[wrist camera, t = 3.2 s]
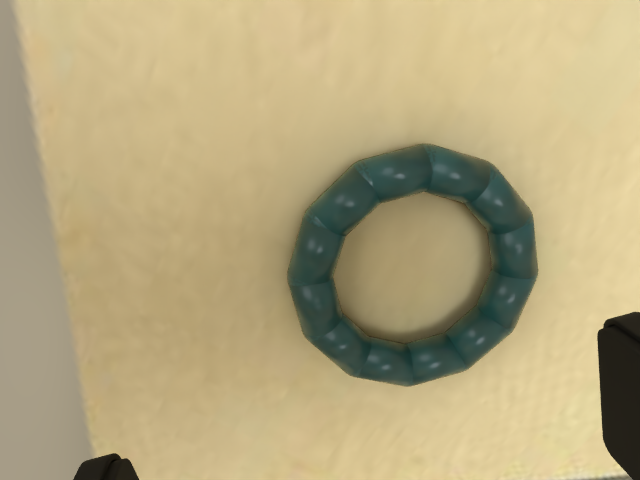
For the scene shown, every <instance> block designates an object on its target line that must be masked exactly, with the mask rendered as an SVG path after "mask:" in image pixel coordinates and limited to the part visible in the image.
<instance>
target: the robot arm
mask: <svg viewBox="0 0 640 480" xmlns="http://www.w3.org/2000/svg"><path fill="white" fill-rule="evenodd" d="M598 356H599V374H600V393H601V412H602V430H603V440H604V443H605V446H606V448H607V450H608V451H609V453H610V455H611V456H612V457H613V458H614V459H615V460H616V462H617V463H618V464H619V465H620V466H621V467H622V468H623V469H624V470H625V471H626V472H627V474H628V475H629V476H630V477H631V478H632V479H633V480H640V312H633V313H629V314H625V315H622V316H618V317H614V318H611V319H608V320H606V321H605V323H604V327H603V329H601V330H599V332H598ZM73 480H139V478H138V476H137V474H136V472H135V470H134V468H133V466H132V464H131V462H130V460H128V459H126V458H125V459H121V458H120V456H119V455H118V454H114V453H113V454H109V455H105V456H102V457H98V458H94V459H91V460H87V461H85V462H83V463H82V464H81V466H80V467H79V469H78V471H77V473H76V475H75V477H74V479H73Z"/></svg>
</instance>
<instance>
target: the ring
mask: <svg viewBox="0 0 640 480" xmlns="http://www.w3.org/2000/svg"><path fill="white" fill-rule="evenodd" d="M422 192H427V193H430V194H434V195H438V196H441V197H445V198H448V199H452V200H456V201H459V202H463V203H464V204H465V205H466V206H467V208H468V209H469V210H470V211H471V212H472V213H473V214H474V216H475V217H476V218H477V219H478V220H479V221H480V223H481V224H482V225H483V226H484V227H485V228H486V229H487V232H488V240H489V248H490V256H491V264H492V269H491V271H490V274H489V276H488V278H487V281H486V283H485V286H484V288H483V291H482V293H481V295H480V298H479V300H478V303H477V305H476V306H475V307H474V308H473V309H471V310H470V311H469V312H468V313H467V314H466V315H465V316H463V317H462V318H461V319H460V320H459V321H458V322H456V323H455V324H454V325H453V326H452V327H451V328H450V329H448V330H447V331H446V332H445V333H442V334H439V335H435V336H432V337H428V338H425V339H421V340H417V341H414V342H410V343H407V344H403V343H398V342H393V341H388V340H383V339H378V338H374V337H369V336H367V335H366V334H365V333H364V332H363V331H362V330H360V329H359V328H358V327H357V326H356V325H355V324H354V323H353V322H352V321H351V320H350V319H348V318H347V317H346V316H345V315H344V314H343V313H342V311H341V307H340V303H339V299H338V295H337V291H336V287H335V283H334V279H333V274H334V271H335V268H336V265H337V262H338V259H339V256H340V252H341V249H342V246H343V243H344V240H345V237H346V235H347V234H348V233H349V232H350V231H352V230H353V229H354V228H355V227H356V226H357V225H358V224H359V223H360V222H361V221H362V220H363V219H364V218H365V217H366V216H367V215H368V214H370V213H371V212H372V211H373V210H374V209H375V208H376V207H377V206H378V205H379V204H381V203H385V202H388V201H392V200H396V199H399V198H403V197H407V196H411V195H414V194H418V193H422ZM537 276H538V263H537V252H536V242H535V231H534V220H533V215H532V212H531V210H530V209H529V207H528V206H527V205H526V204H525V202H524V201H523V200H522V199H521V197H520V196H519V195H518V194H517V193H516V191H515V190H514V189H513V188H512V186H511V185H510V184H509V183H508V181H507V180H506V179H505V178H504V176H503V175H502V174H501V173H500V172H499V170H498V169H497V168H496V167H495V166H494V165H493V164H491V163H490V162H488V161H485V160H482V159H479V158H475V157H472V156H469V155H465V154H462V153H459V152H455V151H452V150H449V149H445V148H442V147H439V146H435V145H431V144H420V145H416V146H412V147H409V148H405V149H401V150H397V151H393V152H390V153H386V154H382V155H378V156H375V157H371V158H367V159H363V160H360V161H358V162H356V163H355V164H353V165H352V166H351V167H350V168H349V169H348V170H347V171H346V172H345V173H344V174H343V175H342V176H341V177H340V178H339V179H338V180H337V181H336V182H335V183H333V184H332V185H331V186H330V187H329V188H328V189H327V190H326V191H325V192H324V193H323V194H322V195H321V196H320V197H319V198H318V199H317V200H316V201H315V202H314V203H313V204H312V205H311V206H310V207H309V208H308V209H307V210H306V212H305V214H304V217H303V220H302V223H301V227H300V230H299V234H298V237H297V241H296V244H295V248H294V251H293V254H292V258H291V261H290V265H289V268H288V273H287V279H288V284H289V287H290V290H291V294H292V297H293V301H294V304H295V308H296V311H297V315H298V318H299V322H300V325H301V328H302V331H303V334H304V336H305V337H306V339H307V340H308V341H310V342H311V343H312V344H313V345H314V346H315V347H316V348H318V349H319V350H320V351H321V352H322V353H323V354H325V355H326V356H327V357H328V358H329V359H330V360H332V361H333V362H334V363H335V364H336V365H337V366H339V367H340V368H341V369H342V370H343V371H344V372H346V373H347V374H348V375H350V376H353V377H357V378H362V379H368V380H373V381H379V382H384V383H389V384H395V385H400V386H414V385H418V384H421V383H425V382H428V381H432V380H435V379H439V378H442V377H446V376H449V375H453V374H456V373H460V372H463V371H466V370H467V369H469V368H470V367H472V366H473V365H474V364H475V363H476V362H477V361H479V360H480V359H481V358H482V357H483V356H484V355H486V354H487V353H488V352H489V351H490V350H491V349H493V348H494V347H495V346H496V345H497V344H499V343H500V342H501V341H502V340H503V339H504V338H506V337H507V336H508V335H509V334H510V333H511V332H512V331H513V330H514V328H515V326H516V324H517V322H518V320H519V317H520V315H521V313H522V311H523V308H524V306H525V304H526V302H527V299H528V297H529V295H530V293H531V290H532V288H533V286H534V284H535V281H536V279H537Z"/></svg>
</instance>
